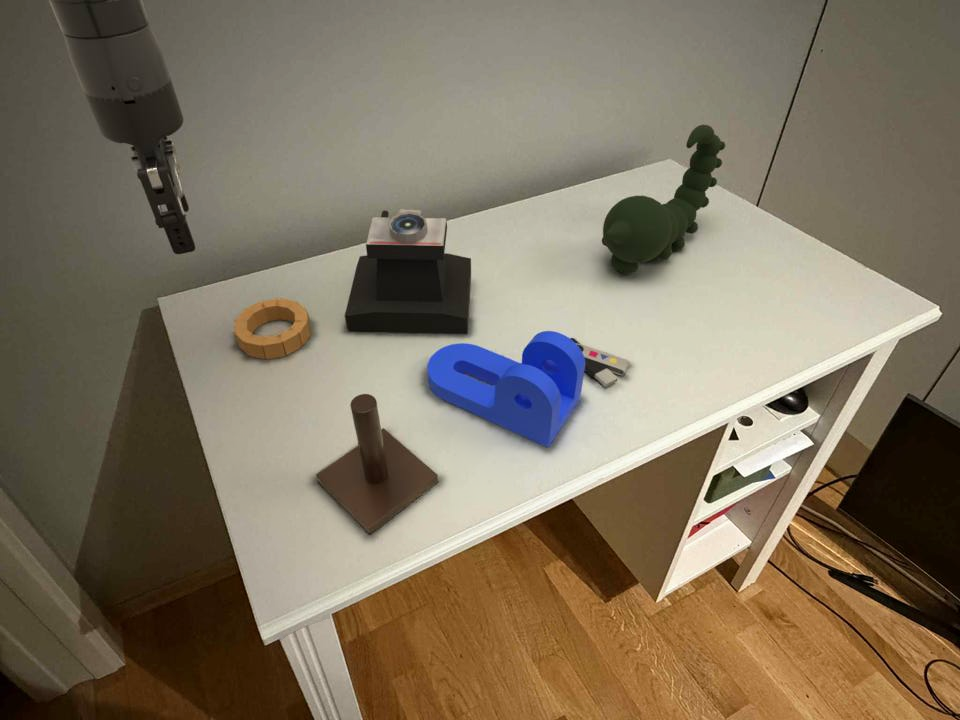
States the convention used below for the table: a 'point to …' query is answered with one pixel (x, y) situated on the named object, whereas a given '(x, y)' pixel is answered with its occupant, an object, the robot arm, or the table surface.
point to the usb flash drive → (602, 364)
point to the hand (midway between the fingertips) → (182, 230)
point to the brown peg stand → (375, 471)
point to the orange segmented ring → (276, 343)
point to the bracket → (513, 384)
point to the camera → (409, 279)
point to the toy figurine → (663, 211)
